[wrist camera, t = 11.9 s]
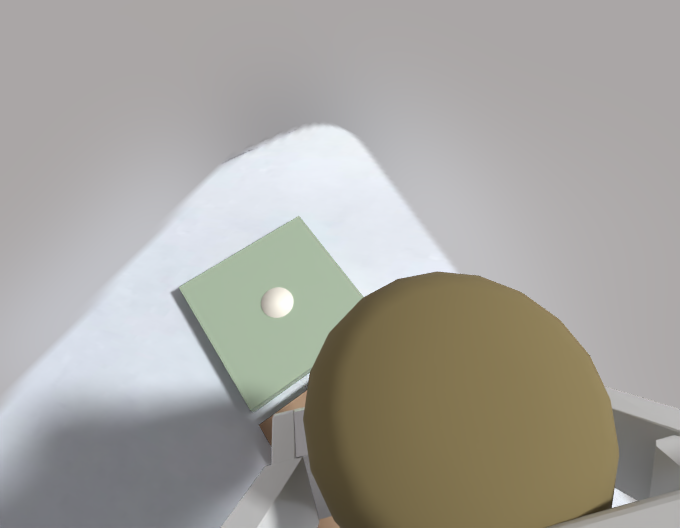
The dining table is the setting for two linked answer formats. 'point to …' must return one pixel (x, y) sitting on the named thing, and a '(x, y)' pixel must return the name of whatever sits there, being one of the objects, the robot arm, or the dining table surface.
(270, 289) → the tile one
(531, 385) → the cork
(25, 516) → the dining table surface
